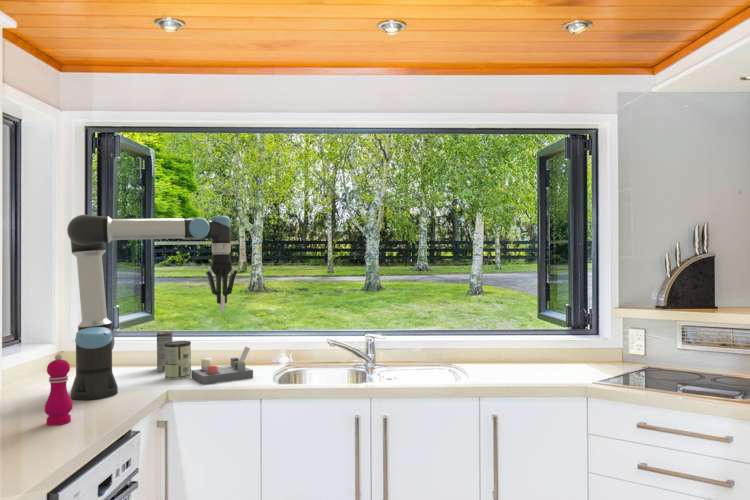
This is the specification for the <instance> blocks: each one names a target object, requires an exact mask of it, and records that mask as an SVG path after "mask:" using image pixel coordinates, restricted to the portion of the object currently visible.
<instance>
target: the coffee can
mask: <svg viewBox="0 0 750 500" xmlns="http://www.w3.org/2000/svg"><path fill="white" fill-rule="evenodd" d="M191 344H192V342H191V341H189V340H175V341H174V340H173V342H167V343H164V345H165V371H164V378H165V379H166V380H182V379H183V378H184V379H187V378H190V377H191V370H192V367H191V366H192V361H191V358H192V357H191V354H192V353H191V352H192V351H191Z"/></svg>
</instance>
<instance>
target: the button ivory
mask: <svg viewBox="0 0 750 500" xmlns="http://www.w3.org/2000/svg"><path fill="white" fill-rule="evenodd" d="M200 361H201V362H200V363H201V365H200V366H201V371H202V372H205V371H208V366H209V365H213V364H212V361H213V360H212V358H211V357H210V358H209V357H207V358H206V357H205V358H202V359H200Z"/></svg>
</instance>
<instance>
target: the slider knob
mask: <svg viewBox="0 0 750 500" xmlns="http://www.w3.org/2000/svg"><path fill="white" fill-rule="evenodd" d="M239 360H240V358H238V357H231V358H230V366H234V365H233V362H236V361H239Z"/></svg>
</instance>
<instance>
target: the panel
mask: <svg viewBox="0 0 750 500" xmlns="http://www.w3.org/2000/svg"><path fill="white" fill-rule="evenodd" d="M238 362H239V361H236V362H233V365H234V366H231V365H225V366H218V374H212V375H208V371H205V372H202V371H201V369H200V368H199V369H191V376H190V377H192V379H193V380H195V381H197V382H198V381H199V383H200V384H202V385H207V384H215V383H216V382H217V383H224V382H230V381H238V380H246V379H253V378H254V369H251V368H249V367H246V362H245V361H244V363H238ZM236 364H237V367H236Z"/></svg>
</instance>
